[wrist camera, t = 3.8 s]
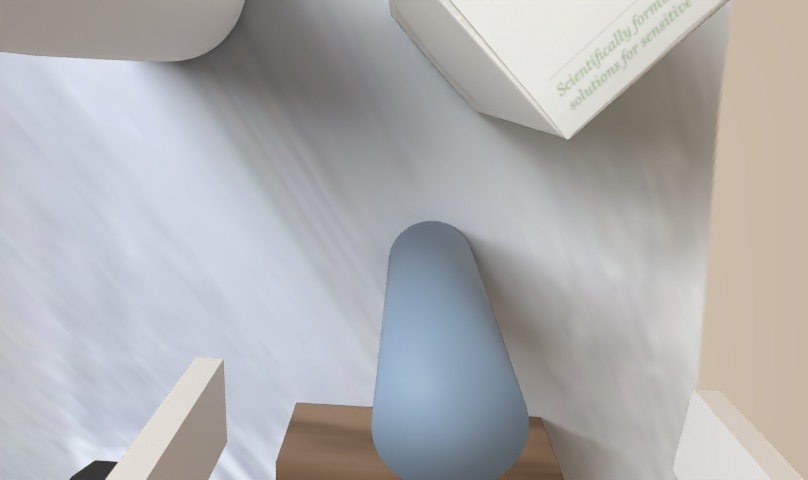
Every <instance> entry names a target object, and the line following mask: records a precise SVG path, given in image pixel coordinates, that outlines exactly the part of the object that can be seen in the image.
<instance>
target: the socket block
mask: <svg viewBox="0 0 808 480" xmlns="http://www.w3.org/2000/svg"><path fill="white" fill-rule="evenodd" d="M372 413H373V407H358V406H342V405H326V404H309V403H296V405H295V408H294V411H293V414H292V417H291V420H290V423H289V426H288V429H287V432H286V434H285V437H284V440H283V443H282V446H281V449H280V452H279V455H278V458H277V461H276V480H403V479H401V478H400V477H398V476H397V475H396V474H394V473H393V472H392V471H391V470H390V469H389V468H388V467H387V466H386V465H385V463H384V462H383V460H382V459H381V458H380V456H379V454H378V452H377V450H376V448H375V445H374V442H373V437H372V426H371V423H372ZM495 480H564V478H563V475H562V473H561V470H560V468H559V465H558V462H557V460H556V457H555V454H554V452H553V449H552V446H551V444H550V441H549V439H548V436H547V433H546V431H545V428H544V425H543V423H542V420H541V418H539V417H529V430H528V436H527V441H526V443H525V446H524V449H523V451H522V452H521V454H520V456H519V458H518V459H517V460H516V462H515V463H514V464H513V465H512V466H511V467H510V468H509V469H508V470H507V471H506V472H505V473H504V474H503V475H501V476H500V477H499V478H497V479H495Z"/></svg>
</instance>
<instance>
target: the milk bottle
mask: <svg viewBox="0 0 808 480" xmlns="http://www.w3.org/2000/svg"><path fill="white" fill-rule="evenodd" d="M244 2H245V0H0V52H7V53H17V54H26V55H35V56H52V57H69V58H87V59H106V60H130V61H157V62H166V61H182V60H188V59H192V58H195V57H198V56H201V55H203V54H205V53H207V52H209V51H210V50H212V49H213V48H215V47H216V46H217V45H219V44H220V43H221V42H222V41H223V40H224V39H225V38H226V37H227V36H228V35H229V33H230V32H231V31H232V29H233V28H234V26H235V24H236V23H237V21H238V19H239V17H240V15H241V12H242V9H243V6H244Z"/></svg>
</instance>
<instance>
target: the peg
mask: <svg viewBox="0 0 808 480" xmlns="http://www.w3.org/2000/svg"><path fill="white" fill-rule="evenodd" d="M371 426H372V437H373V442H374V445H375V448H376V450H377V452H378V454H379V456H380V458H381V459H382V460H383V462H384V463H385V465H386V466H387V467H388V468H389V469H390V470H391V471H392V472H393V473H394V474H396V475H397V476H398V477H400V478H401V479H403V480H495V479H497V478H499V477H500V476H501V475H503V474H504V473H505V472H506V471H507V470H508V469H509V468H510V467H511V466H512V465H513V464H514V463H515V462H516V460H517V459H518V458H519V456H520V454H521V452H522V451H523V449H524V446H525V443H526V441H527V436H528V430H529V417H528V412H527V407H526V404H525V401H524V398H523V396H522V393H521V390H520V387H519V384H518V381H517V378H516V376H515V373H514V370H513V367H512V364H511V361H510V358H509V356H508V353H507V350H506V347H505V344H504V341H503V338H502V335H501V333H500V330H499V327H498V324H497V321H496V318H495V315H494V313H493V310H492V307H491V304H490V301H489V298H488V295H487V293H486V290H485V287H484V284H483V281H482V278H481V275H480V272H479V270H478V267H477V264H476V261H475V258H474V255H473V252H472V250H471V247H470V244H469V243H468V241H467V239H466V238H465V237H464V235H463V234H462V233H461V232H460V231H458V230H457V229H456V228H454V227H452V226H450V225H448V224H445V223H442V222H435V221H428V222H422V223H418V224H415V225H413V226H411V227H409V228H407V229H406V230H405V231H403V232H402V233H401V234H400V235H399V236H398V238H397V239H396V240H395V242H394V244H393V246H392V248H391V251H390V256H389V265H388V274H387V284H386V293H385V302H384V311H383V321H382V330H381V339H380V348H379V358H378V367H377V376H376V386H375V395H374V404H373V413H372V423H371Z"/></svg>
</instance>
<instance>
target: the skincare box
mask: <svg viewBox="0 0 808 480" xmlns="http://www.w3.org/2000/svg"><path fill="white" fill-rule="evenodd" d="M728 1H729V0H389V5H390V11H391V15H392V17H393V18H394V19H395V20H396V22H397V23H398V24H399V25H400V26H401V28H402V29H403V30H404V31H405V32H406V33H407V35H408V36H409V37H410V38H411V39H412V41H413V42H414V43H415V44H416V45H417V46H418V48H419V49H420V50H421V51H422V52H423V53H424V55H425V56H426V57H427V58H428V59H429V60H430V62H431V63H432V64H433V65H434V66H435V67H436V68H437V69H438V71H439V72H440V73H441V74H442V75H443V76H444V77H445V78H446V79H447V81H448V82H449V83H450V84H451V85H452V86H453V87H454V88H455V89H456V91H457V92H458V93H459V94H460V95H461V96H462V97H463V98H464V99H465V100H466V102H467V103H468V104H469V105H470V106H471V107H472V108H473V109H474V110H475V111H477V112H481V113H483V114H487V115H490V116H493V117H496V118H500V119H503V120H507V121H510V122H513V123H516V124H519V125H523V126H526V127H529V128H532V129H536V130H539V131H543V132H547V133H549V134H552V135H555V136H559V137H562V138H565V139H567V140H570V139H571V138H572V137H574V136H575V135H576V134H577V133H578V132H579V131H580V130H581V129H582V128H584V127H585V126H586V125H587V124H588V123H589V122H590V121H591V120H592V119H593V118H595V117H596V116H597V115H598V114H599V113H601V112H602V111H603V110H604V109H605V108H606V107H608V106H609V105H610V104H611V103H612V102H613V101H615V100H616V99H617V98H618V97H619V96H620V95H622V94H623V93H624V92H625V91H626V90H627V89H628V88H630V87H631V86H632V85H633V84H634V83H635V82H636V81H638V80H639V79H640V78H641V77H642V76H643V75H644V74H645V73H647V72H648V71H649V70H650V69H651V68H652V67H653V66H655V65H656V64H657V63H658V62H659V61H660V60H661V59H663V58H664V57H665V56H666V55H667V54H668V53H669V52H671V51H672V50H673V49H674V48H675V47H676V46H677V45H679V44H680V43H681V42H682V41H683V40H684V39H685V38H686V37H688V36H689V35H690V34H691V33H692V32H693V31H695V30H696V29H697V28H698V27H699V26H700V25H701V24H703V23H704V22H705V21H706V20H707V19H708V18H709V17H711V16H712V15H713V14H714V13H715V12H716V11H717V10H719V9H720V8H721V7H722V6H723V5H724V4H726V3H727V2H728Z"/></svg>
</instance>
